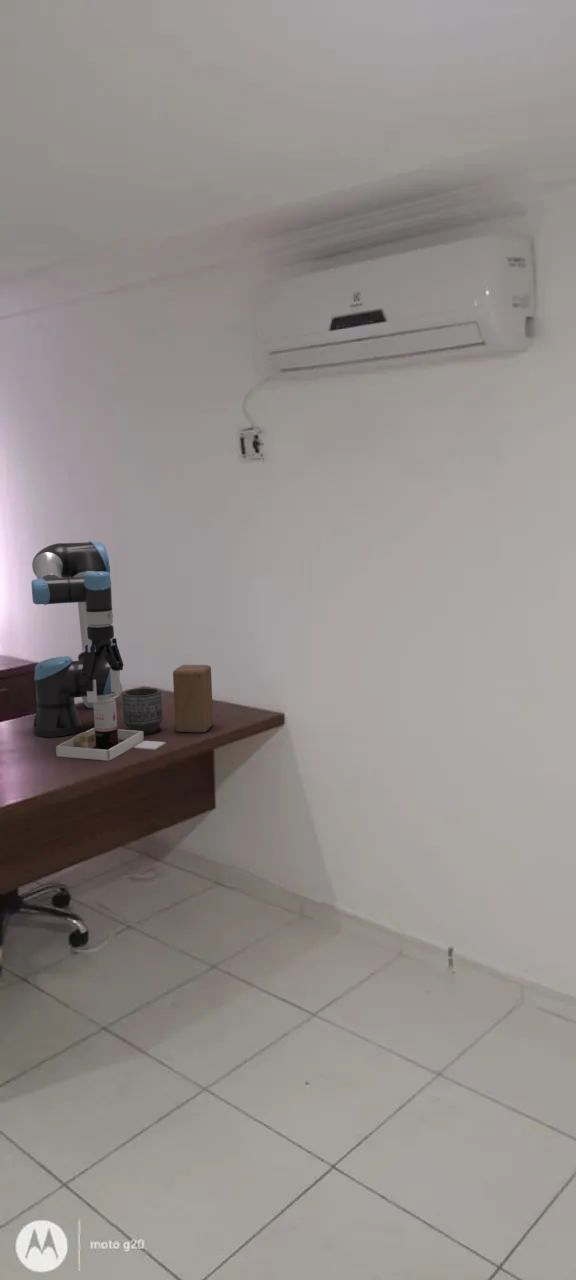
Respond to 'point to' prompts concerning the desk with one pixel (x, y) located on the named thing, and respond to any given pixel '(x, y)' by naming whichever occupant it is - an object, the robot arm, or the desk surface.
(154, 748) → the pad
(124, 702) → the planter
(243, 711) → the desk surface
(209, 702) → the wooden block
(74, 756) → the bin
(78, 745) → the beech block
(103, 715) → the beverage can
